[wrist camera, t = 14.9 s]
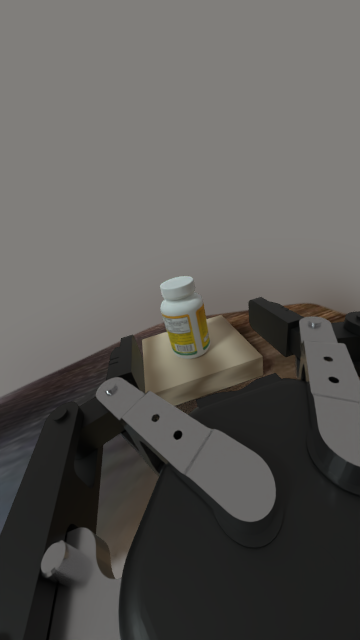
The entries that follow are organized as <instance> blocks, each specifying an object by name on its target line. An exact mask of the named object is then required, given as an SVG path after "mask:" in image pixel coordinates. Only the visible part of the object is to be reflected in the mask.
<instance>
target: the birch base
mask: <svg viewBox="0 0 360 640" xmlns="http://www.w3.org/2000/svg"><path fill="white" fill-rule="evenodd" d="M206 321H207V327H208V332H209V338H210V346H209V348H208V350H207V351H206V352H205V353H204V354H203V355H201V356H199V357H197V358H192V359H184V358H180V357H178V356H177V355H175V354H174V352H173V350H172V347H171V343H170V340H169V336H168V333H167V332H165V333H162V334H159V335H155V336H152V337H149V338H146V339H143V340H142V344H143V360H144V376H145V393H147V392H148V391H151V392H153V393H155V394H156V395H158V396H159V397H161V398H162V399H164V400H165V401H167V402H169V403H170V404H172V405H173V406H176V405H179V404H182V403H185V402H188V401H190V400H193V399H196V398H199V397H202V396H205V395H208V394H211V393H213V392H216V391H219V390H222V389H225V388H228V387H231V386H234V385H237V384H239V383H242V382H245V381H248V380H251V379H254V378H257V377H260V376H263V356H262V355H261V354H260V353H259V352H258V351H257V350H256V349H255V348H254V347H253V346H252V345H251V344H250V343H249V342H248V341H247V340H246V339H245V338H244V337H243V336H242V335H241V334H240V333H239V332H238V331H237V330H236V329H235V328H234V327H233V326H232V325H231V324H230V323H229V322H228V321H227V320H226V319H225V318H224V317H223V316H222V315H219V316H216V317H213V318H210V319H207V320H206Z"/></svg>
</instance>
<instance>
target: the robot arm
mask: <svg viewBox="0 0 360 640" xmlns="http://www.w3.org/2000/svg"><path fill="white" fill-rule="evenodd" d="M249 322H250V325H251V327H252V328H253V329H254V330H255V331H256V332H257V333H258V334H259V335H260V336H262V337H263V338H264V339H265V340H266V341H267V342H269V343H270V344H271V345H272V346H273V347H274V348H275V349H277V350H278V351H279V352H280V353H281V354H282V355H284V356H285V357H288V356H291V355H295V367H296V379H289V378H283V379H281V378H280V377H279V376H278V375H277V374H276V373H274V374H271V375H268V376H265V377H262V378H259V379H256V380H255V381H253V382H252V383H250V384H249V385H247V386H246V387H244V388H243V389H241V390H239V391H230V392H221V393H215V394H212V395H209V396H206V397H203V398H200V399H197V400H196V401H197V405H198V407H197V408H195V409H194V410H193V411H191V412H190V413H189V414H188V415H187V414H186V413H184V412H182V411H181V410H179V409H178V408H176V407H175V406H173V405H172V404H170V403H169V402H167V401H165V400H164V399H162V398H161V397H159V396H158V395H156V394H155V393H153V392H151V391H148V392H147V393H146V394H145V386H144V370H143V360H142V356H141V353H140V351H139V348H138V345H137V343H136V340H135V338H134V336H133V335H130V336H127V337H124V338H121V343H120V347H117V348H115V349H114V350H113V352H112V353H111V356H110V361H109V367H108V372H107V378H106V381H105V382H104V383H103V384H102V385H101V386H100V387H99V388H98V390H97V392H96V397H94V398H93V399H91V400H90V401H88V402H86V403H84V404H83V405H81V406H78V404H77V403H75V402H68V403H65V404H63V405H61V406H59V407H58V408H56V409H55V410H54V411H53V412H52V413H51V414H50V415H49V416H48V418H47V419H46V421H45V423H44V426H43V429H42V431H41V434H40V436H39V439H38V441H37V444H36V446H35V449H34V451H33V454H32V456H31V459H30V461H29V464H28V467H27V469H26V472H25V474H24V477H23V479H22V482H21V484H20V487H19V489H18V492H17V494H16V497H15V499H14V502H13V504H12V507H11V510H10V512H9V515H8V517H7V520H6V522H5V525H4V527H3V530H2V532H1V535H0V640H360V380H359V377H360V312H351V313H348V314H347V315H346V316H345V321H344V322H337V323H330V322H329V321H328V320H326V319H324V318H320V317H305V318H304V317H302V316H300V315H298V314H297V313H295V312H293V311H291V310H289V309H287V308H284V306H282V305H280V304H278V303H273V302H269V301H267V300H265V299H264V298H262V297H259V298H256V299H253V300H250V301H249ZM358 376H359V377H358ZM118 434H120V435H121V436H122V437H123V438H124V439H125V440H126V441H127V442H128V443H129V444H130V445H131V446H132V447H133V448H134V449H135V450H136V451H137V452H138V453H139V454H140V456H141V457H142V458H143V459H144V460H145V462H146V463H147V464H148V466H149V467H150V468H151V469H152V470H153V471H154V473H155V474H156V475H157V476H158V477H159V479H158V481H157V483H156V486H155V488H154V491H153V493H152V496H151V498H150V500H149V503H148V505H147V508H146V510H145V513H144V515H143V518H142V520H141V522H140V525H139V527H138V530H137V532H136V535H135V537H134V539H133V542H132V544H131V547H130V549H129V552H128V555H127V558H126V561H125V565H124V569H123V574H122V577H121V578H119V579H115V577H114V575H113V572H112V568H111V558H110V551H109V548H108V545H107V544H106V542H105V541H104V540H102V539H101V538H100V537H98V536H97V535H96V525H97V513H98V501H99V489H100V477H101V466H102V454H103V445H104V444H105V443H106V442H108V441H109V440H111V439H112V438H114V437H115V436H117V435H118Z"/></svg>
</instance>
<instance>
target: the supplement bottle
mask: <svg viewBox="0 0 360 640" xmlns="http://www.w3.org/2000/svg"><path fill="white" fill-rule="evenodd" d="M160 289H161V293H162V296H163V298H164V299H165V300H164V301H163V302H162V304H161V312H162V316H163V319H164V323H165V326H166V329H167V333H168V336H169V340H170V343H171V347H172V350H173V352H174V354H175V355H177V356H178V357H180V358H184V359H192V358H197V357H199V356H201V355H203V354H204V353H205V352H206V351H207V350H208V348H209V346H210V338H209V332H208V327H207V321H206V315H205V310H204V304H203V299H202V297H201V296H200V295H199V294H197V293H195V292H194V291H195V285H194V280H193V278H192V277H189V276H182V277H176V278H173V279H170V280H167V281H165V282H163V283H162V284H161V285H160Z"/></svg>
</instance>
